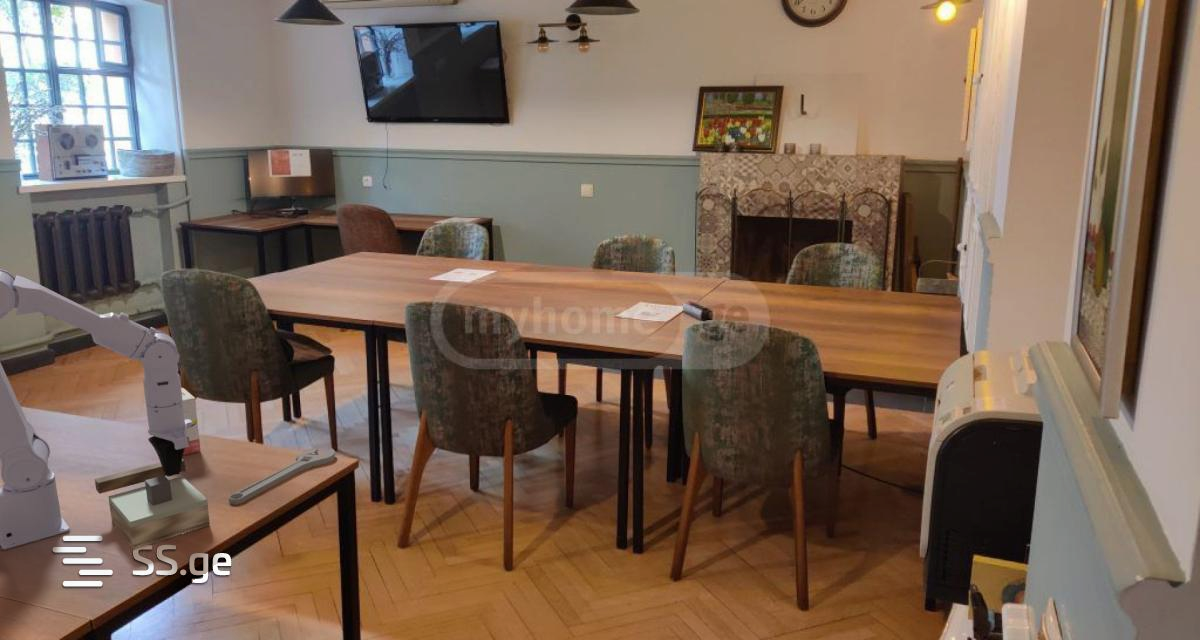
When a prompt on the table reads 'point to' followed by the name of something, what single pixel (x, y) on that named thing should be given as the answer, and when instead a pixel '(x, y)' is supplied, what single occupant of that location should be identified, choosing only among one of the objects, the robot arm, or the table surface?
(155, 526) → the open wooden tray
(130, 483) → the brown rectangular block
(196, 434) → the ink cartridge box
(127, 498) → the lid
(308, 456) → the adjustable wrench
